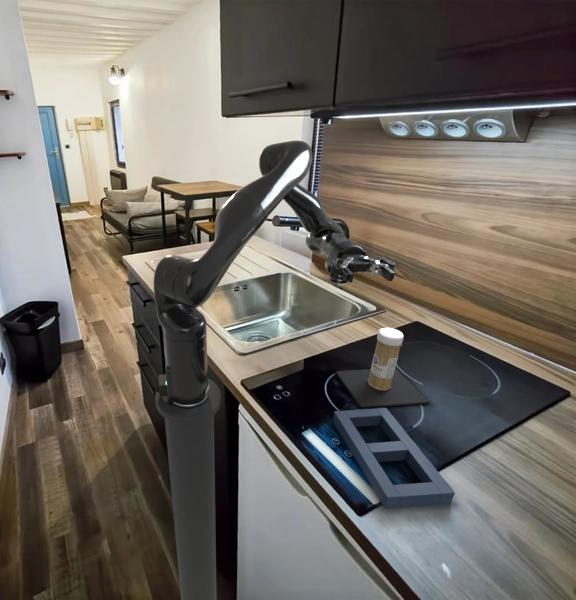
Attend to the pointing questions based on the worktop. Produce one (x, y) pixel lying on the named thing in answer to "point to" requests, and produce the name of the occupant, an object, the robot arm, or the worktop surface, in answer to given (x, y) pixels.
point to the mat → (371, 398)
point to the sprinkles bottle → (385, 358)
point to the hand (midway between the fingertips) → (371, 277)
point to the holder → (398, 449)
